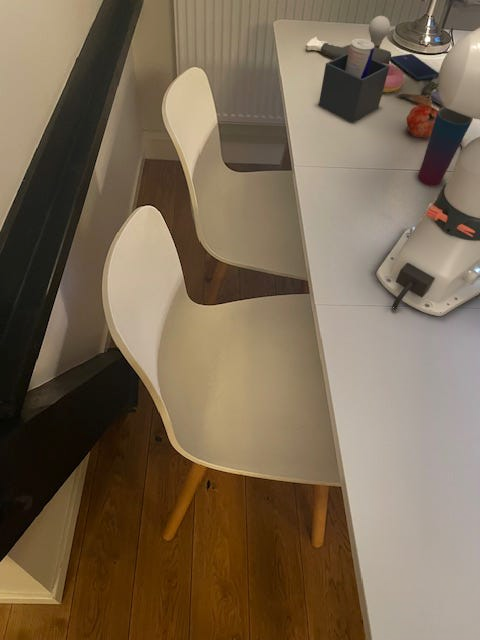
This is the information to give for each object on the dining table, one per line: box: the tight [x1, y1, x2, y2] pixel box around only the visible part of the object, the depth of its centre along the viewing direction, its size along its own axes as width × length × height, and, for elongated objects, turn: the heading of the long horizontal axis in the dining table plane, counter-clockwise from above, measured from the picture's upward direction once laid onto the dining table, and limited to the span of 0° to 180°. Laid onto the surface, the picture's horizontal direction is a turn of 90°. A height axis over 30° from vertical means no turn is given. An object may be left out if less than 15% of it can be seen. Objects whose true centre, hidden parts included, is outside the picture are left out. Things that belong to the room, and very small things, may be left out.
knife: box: [420, 77, 438, 98], centre depth 139 cm, size 20×1×3 cm
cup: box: [417, 106, 474, 186], centre depth 105 cm, size 7×7×15 cm
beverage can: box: [345, 38, 374, 79], centre depth 123 cm, size 6×6×15 cm
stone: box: [398, 92, 433, 107], centre depth 132 cm, size 9×2×3 cm
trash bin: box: [318, 53, 389, 123], centre depth 125 cm, size 11×11×11 cm
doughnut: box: [382, 63, 405, 93], centre depth 136 cm, size 11×11×4 cm
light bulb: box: [368, 15, 391, 48], centre depth 146 cm, size 6×6×10 cm
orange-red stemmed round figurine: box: [406, 104, 439, 138], centre depth 120 cm, size 7×7×10 cm
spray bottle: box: [305, 36, 392, 64], centre depth 146 cm, size 3×11×24 cm
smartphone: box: [390, 53, 439, 81], centre depth 144 cm, size 8×1×15 cm
